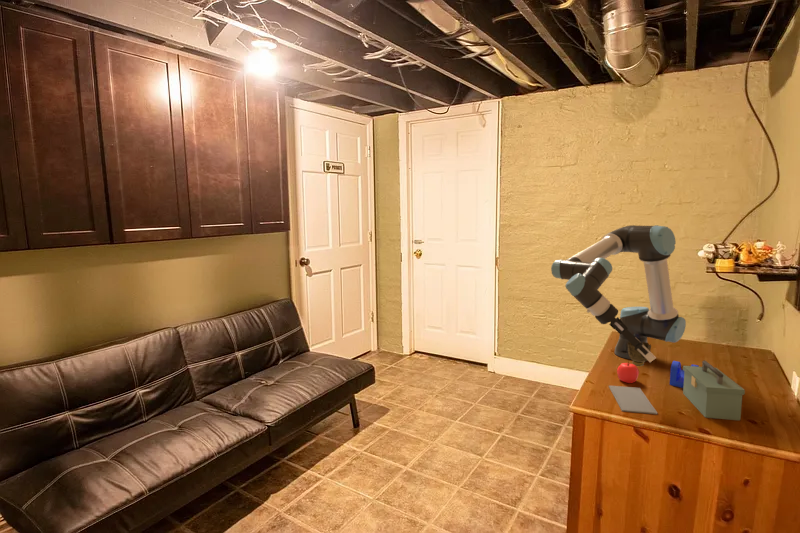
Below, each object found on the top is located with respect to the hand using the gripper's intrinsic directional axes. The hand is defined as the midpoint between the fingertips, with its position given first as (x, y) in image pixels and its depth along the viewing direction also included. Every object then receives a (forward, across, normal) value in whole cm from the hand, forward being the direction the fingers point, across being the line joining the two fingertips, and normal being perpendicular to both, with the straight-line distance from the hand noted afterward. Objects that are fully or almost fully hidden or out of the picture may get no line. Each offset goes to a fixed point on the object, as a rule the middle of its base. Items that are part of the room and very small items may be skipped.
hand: (649, 356), depth 157 cm
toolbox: (+26, 0, +2) cm, 26 cm away
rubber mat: (+8, 0, -15) cm, 18 cm away
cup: (0, 0, -5) cm, 5 cm away
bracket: (+27, -24, +3) cm, 36 cm away
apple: (+11, -19, -13) cm, 26 cm away
